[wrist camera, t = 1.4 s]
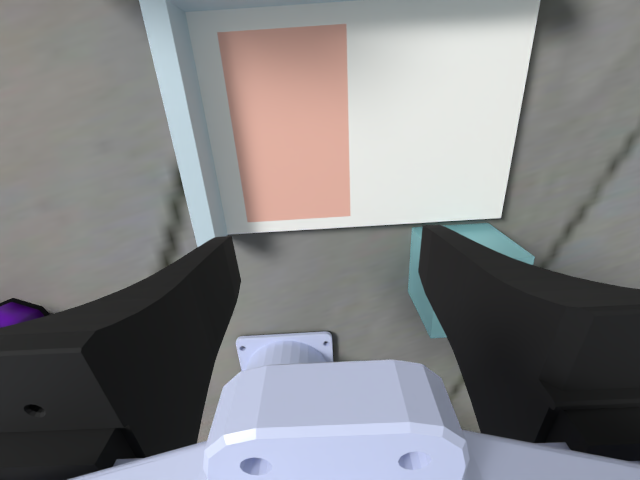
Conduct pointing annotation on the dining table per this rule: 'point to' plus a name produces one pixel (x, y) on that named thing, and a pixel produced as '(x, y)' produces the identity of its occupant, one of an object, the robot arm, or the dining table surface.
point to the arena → (340, 108)
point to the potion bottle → (19, 312)
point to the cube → (475, 232)
